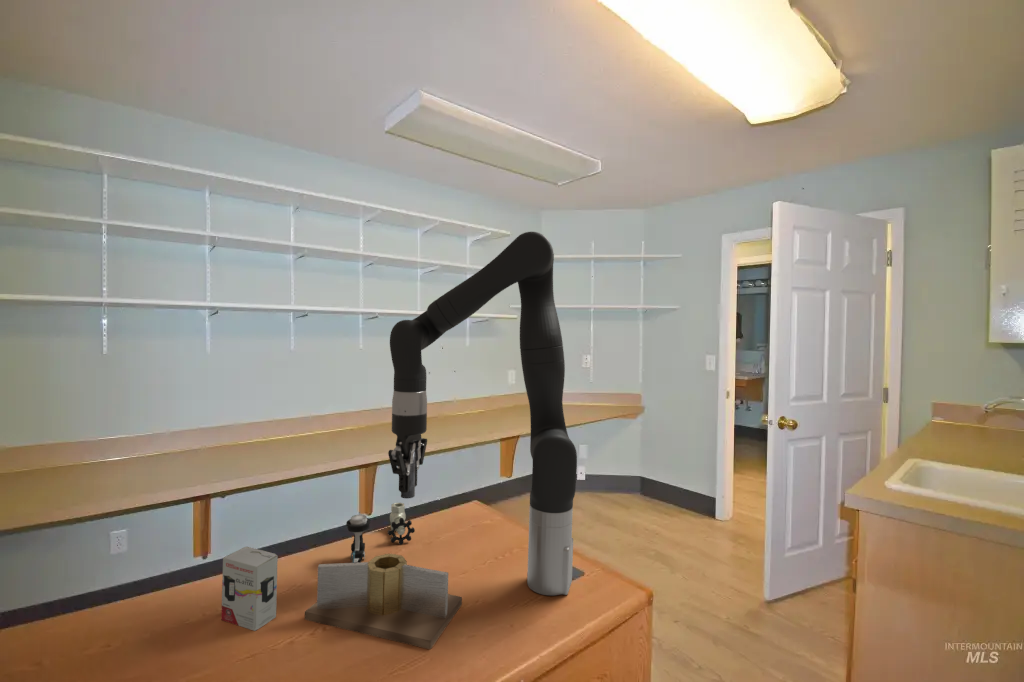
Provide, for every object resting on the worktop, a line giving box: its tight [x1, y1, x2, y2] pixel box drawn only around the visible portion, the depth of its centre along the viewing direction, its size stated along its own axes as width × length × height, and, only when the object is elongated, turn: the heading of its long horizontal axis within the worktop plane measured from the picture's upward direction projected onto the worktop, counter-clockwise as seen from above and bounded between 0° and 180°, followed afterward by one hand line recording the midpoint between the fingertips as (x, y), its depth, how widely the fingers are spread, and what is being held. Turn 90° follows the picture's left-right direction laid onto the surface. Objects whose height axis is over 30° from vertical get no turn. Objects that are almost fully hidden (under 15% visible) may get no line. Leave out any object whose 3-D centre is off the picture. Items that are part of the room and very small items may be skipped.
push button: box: [346, 514, 372, 563], centre depth 110 cm, size 7×5×10 cm
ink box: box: [220, 546, 279, 632], centre depth 88 cm, size 9×5×12 cm, turn 70°
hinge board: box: [304, 593, 463, 650], centre depth 91 cm, size 26×14×2 cm, turn 74°
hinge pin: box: [400, 451, 416, 499], centre depth 105 cm, size 3×3×10 cm
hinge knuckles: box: [316, 553, 449, 618], centre depth 90 cm, size 24×9×8 cm, turn 74°
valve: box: [387, 502, 416, 546], centre depth 125 cm, size 7×7×12 cm
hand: (408, 488), depth 105 cm, fingers closed on hinge pin, 3 cm apart
